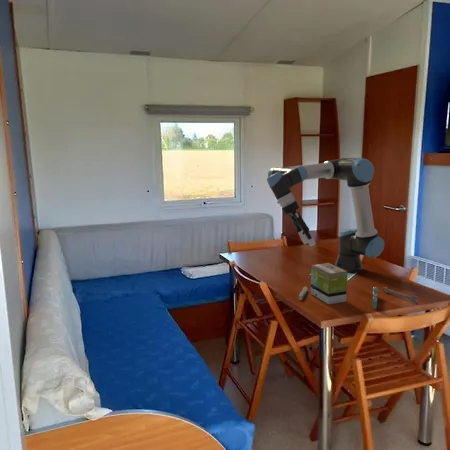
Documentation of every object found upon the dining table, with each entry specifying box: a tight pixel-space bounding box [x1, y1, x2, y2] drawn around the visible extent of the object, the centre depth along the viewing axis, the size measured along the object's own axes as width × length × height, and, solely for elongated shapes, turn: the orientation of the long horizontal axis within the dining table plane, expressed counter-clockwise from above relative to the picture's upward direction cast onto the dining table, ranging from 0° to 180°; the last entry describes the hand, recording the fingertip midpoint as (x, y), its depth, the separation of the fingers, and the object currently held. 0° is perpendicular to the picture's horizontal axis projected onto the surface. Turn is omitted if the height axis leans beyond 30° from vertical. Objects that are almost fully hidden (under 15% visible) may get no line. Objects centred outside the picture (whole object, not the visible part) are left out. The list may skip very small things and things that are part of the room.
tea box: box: [310, 262, 348, 305], centre depth 193 cm, size 15×10×15 cm
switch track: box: [298, 286, 379, 310], centre depth 193 cm, size 16×34×5 cm, turn 70°
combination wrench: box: [382, 286, 420, 305], centre depth 194 cm, size 4×1×20 cm
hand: (310, 244), depth 194 cm, fingers open, 13 cm apart
